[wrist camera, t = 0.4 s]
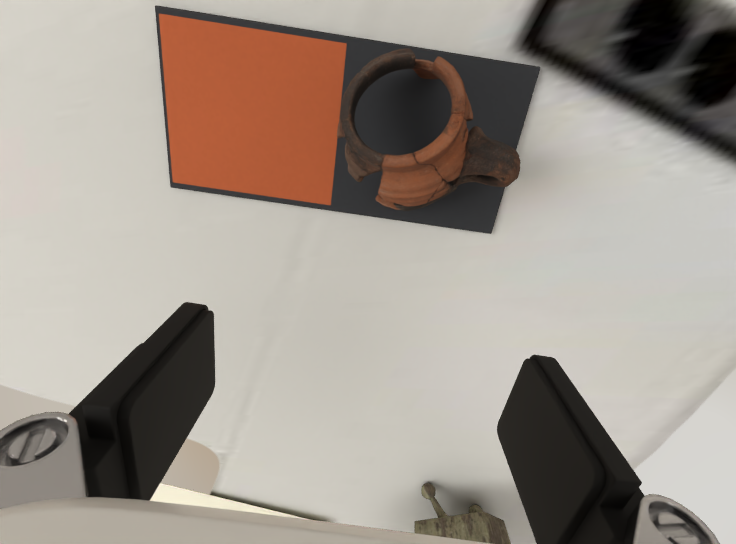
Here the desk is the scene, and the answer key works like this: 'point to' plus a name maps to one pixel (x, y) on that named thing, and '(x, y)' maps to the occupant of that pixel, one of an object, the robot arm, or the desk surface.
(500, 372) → the desk surface
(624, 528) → the robot arm
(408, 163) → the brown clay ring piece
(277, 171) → the desk mat
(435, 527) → the tabletop clock
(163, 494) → the printed paper
